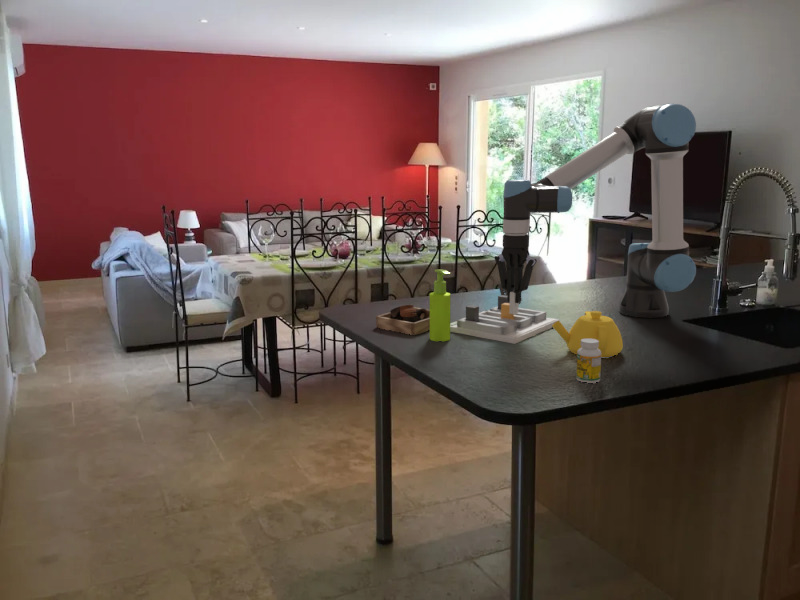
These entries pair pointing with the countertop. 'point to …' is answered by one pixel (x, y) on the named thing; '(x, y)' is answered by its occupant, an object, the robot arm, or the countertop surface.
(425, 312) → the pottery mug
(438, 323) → the soap dispenser
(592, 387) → the countertop surface
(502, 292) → the electrical switch
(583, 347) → the supplement bottle
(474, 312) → the block
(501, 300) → the block
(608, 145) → the robot arm
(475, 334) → the panel
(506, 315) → the block
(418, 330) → the wooden tray
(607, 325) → the teapot
